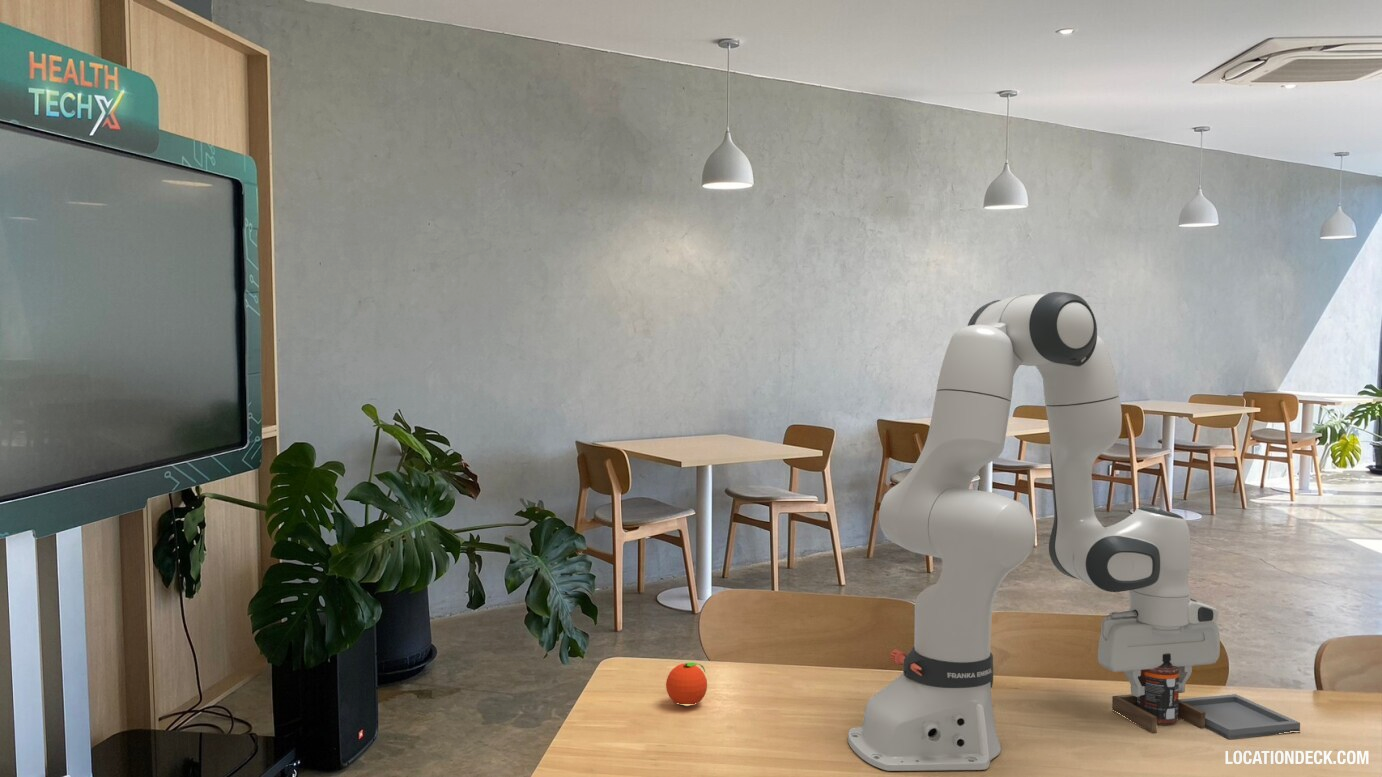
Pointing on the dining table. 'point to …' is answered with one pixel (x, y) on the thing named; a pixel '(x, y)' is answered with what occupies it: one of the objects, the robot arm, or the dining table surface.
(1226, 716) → the tray
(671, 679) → the clementine
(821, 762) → the dining table surface
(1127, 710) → the frame
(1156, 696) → the supplement bottle
